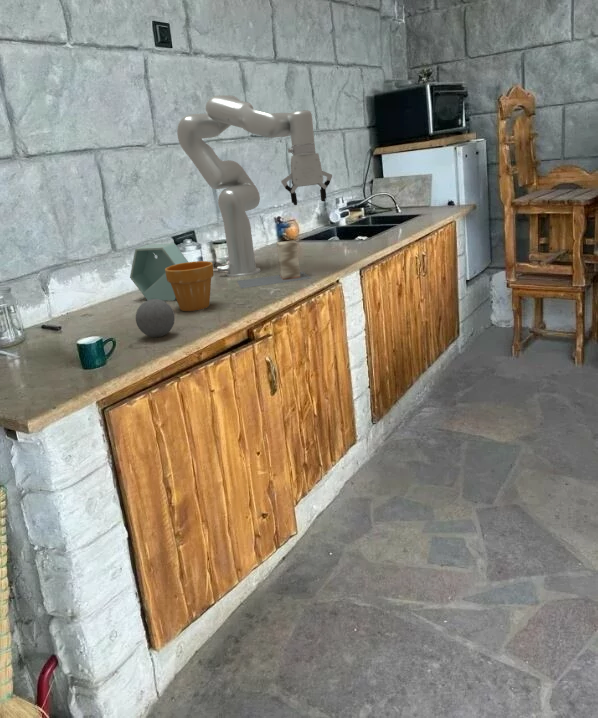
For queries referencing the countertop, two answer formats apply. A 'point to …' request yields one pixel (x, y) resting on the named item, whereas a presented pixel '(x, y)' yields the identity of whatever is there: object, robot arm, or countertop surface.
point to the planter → (155, 270)
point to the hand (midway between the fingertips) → (309, 203)
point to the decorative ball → (155, 318)
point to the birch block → (288, 260)
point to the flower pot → (191, 284)
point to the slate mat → (269, 280)
